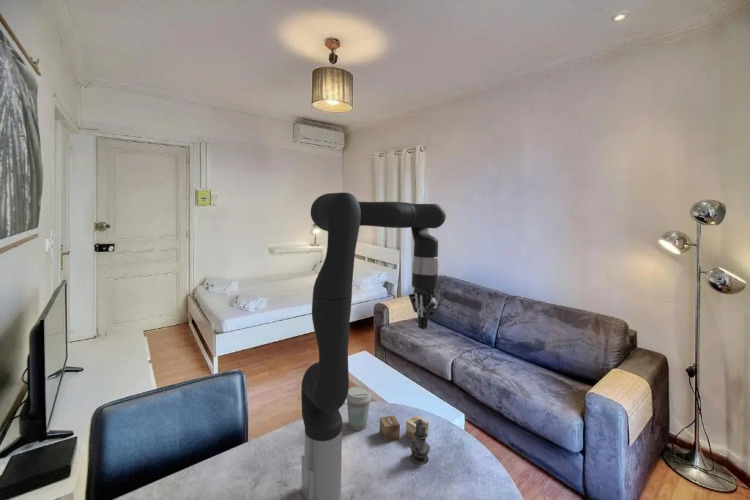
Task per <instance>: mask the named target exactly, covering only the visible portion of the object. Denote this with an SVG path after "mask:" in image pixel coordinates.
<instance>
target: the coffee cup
mask: <svg viewBox="0 0 750 500" xmlns="http://www.w3.org/2000/svg"><path fill="white" fill-rule="evenodd" d="M371 400H372V394H371V391H370V389H369V388H368V387H366V386H362V385H357V386H352V387H349V390H348V395H347V398H346V405H347V406H346V407H347V416H348V426H349V428H350V429H351V430H353V431H354V432H355V431H357V432H358V431H362V430H363V431H364V430H365V429H366V427H367V425H368V420H369V419H368V418H369V410H370V406H371V405H370V403H371Z"/></svg>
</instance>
